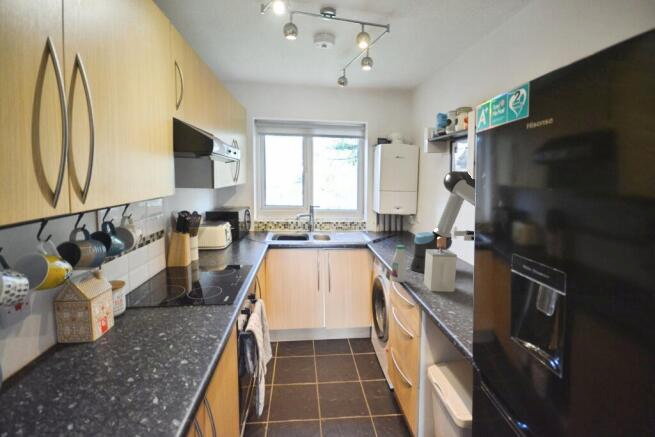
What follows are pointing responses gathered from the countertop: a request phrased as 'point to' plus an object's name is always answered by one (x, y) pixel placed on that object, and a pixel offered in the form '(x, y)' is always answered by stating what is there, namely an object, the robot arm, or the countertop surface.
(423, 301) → the countertop surface
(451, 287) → the beige rectangular box
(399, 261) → the milk bottle
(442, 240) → the plunger
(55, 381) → the countertop surface
